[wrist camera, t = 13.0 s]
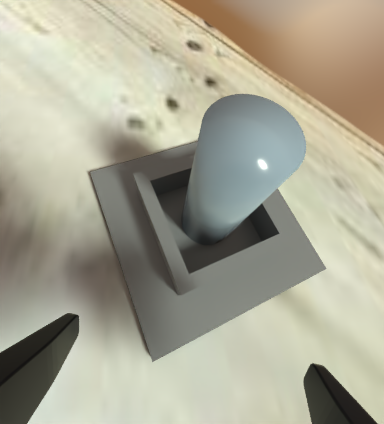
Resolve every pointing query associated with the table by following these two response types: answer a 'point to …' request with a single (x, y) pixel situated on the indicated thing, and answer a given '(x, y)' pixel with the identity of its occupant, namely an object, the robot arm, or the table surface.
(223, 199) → the pale blue rounded cylinder
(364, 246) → the table surface
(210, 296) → the grey square socket base
